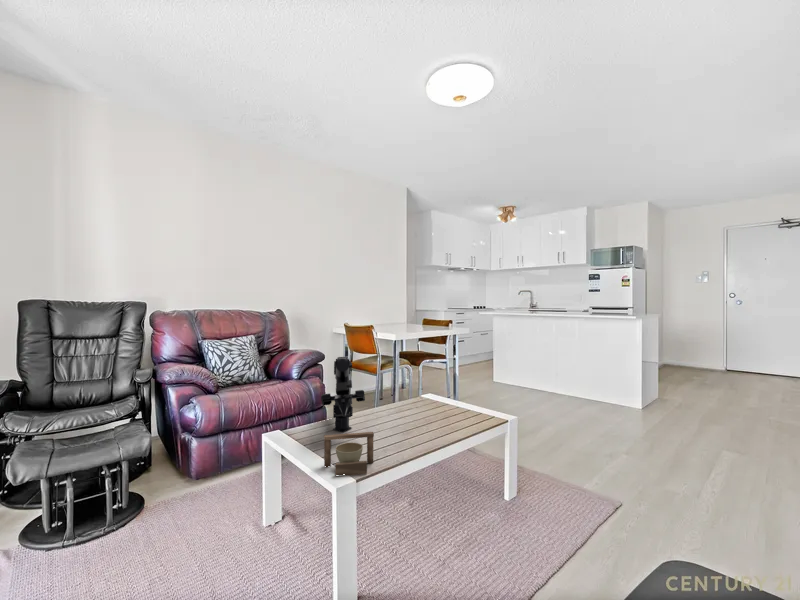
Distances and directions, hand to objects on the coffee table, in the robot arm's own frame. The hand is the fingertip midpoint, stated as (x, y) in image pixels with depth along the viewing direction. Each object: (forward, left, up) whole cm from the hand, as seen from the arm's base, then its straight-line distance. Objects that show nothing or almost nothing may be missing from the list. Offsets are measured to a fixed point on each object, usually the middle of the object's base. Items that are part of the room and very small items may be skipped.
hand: (344, 416), depth 164 cm
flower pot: (+15, +15, -13) cm, 25 cm away
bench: (+16, +17, -12) cm, 26 cm away
